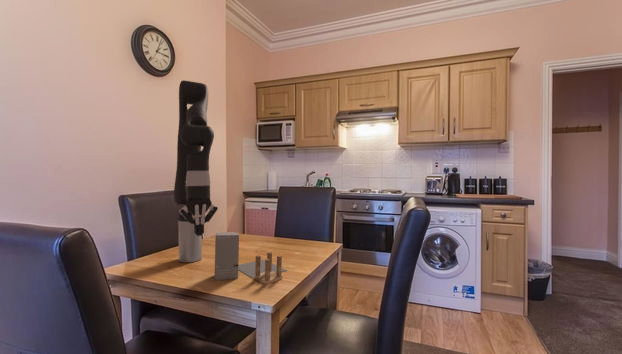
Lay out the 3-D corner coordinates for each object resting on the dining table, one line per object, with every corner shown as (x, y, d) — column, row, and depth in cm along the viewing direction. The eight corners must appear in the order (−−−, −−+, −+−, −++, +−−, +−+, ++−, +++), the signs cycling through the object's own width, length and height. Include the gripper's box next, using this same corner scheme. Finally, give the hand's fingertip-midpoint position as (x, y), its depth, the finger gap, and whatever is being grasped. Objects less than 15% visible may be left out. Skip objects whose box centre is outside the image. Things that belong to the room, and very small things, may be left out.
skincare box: (214, 281, 102) (214, 235, 102) (215, 274, 109) (215, 231, 108) (239, 279, 104) (239, 234, 104) (238, 272, 111) (238, 230, 111)
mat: (232, 267, 117) (232, 266, 117) (263, 260, 126) (263, 259, 126) (253, 279, 103) (253, 278, 103) (287, 271, 112) (287, 270, 112)
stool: (254, 278, 103) (254, 255, 103) (269, 273, 108) (269, 251, 108) (266, 285, 98) (267, 261, 98) (282, 279, 104) (282, 256, 103)
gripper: (213, 183, 107) (214, 231, 107) (174, 184, 99) (175, 236, 99) (221, 184, 101) (222, 234, 101) (180, 185, 93) (181, 240, 93)
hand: (199, 235), depth 100 cm, fingers closed
